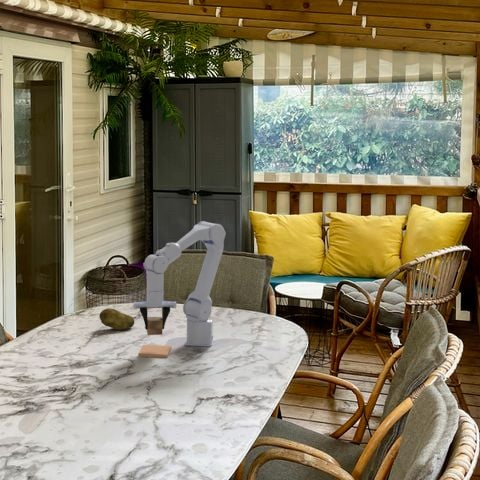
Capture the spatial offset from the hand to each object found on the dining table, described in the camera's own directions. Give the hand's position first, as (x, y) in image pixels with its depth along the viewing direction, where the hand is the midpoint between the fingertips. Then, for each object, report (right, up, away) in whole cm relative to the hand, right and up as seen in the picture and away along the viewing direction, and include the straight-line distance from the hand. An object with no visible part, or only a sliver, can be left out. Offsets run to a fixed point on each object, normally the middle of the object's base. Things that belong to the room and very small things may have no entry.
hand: (154, 328), depth 257 cm
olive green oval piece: (-18, -4, +28) cm, 34 cm away
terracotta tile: (0, -8, +1) cm, 8 cm away
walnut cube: (0, -2, 0) cm, 2 cm away
